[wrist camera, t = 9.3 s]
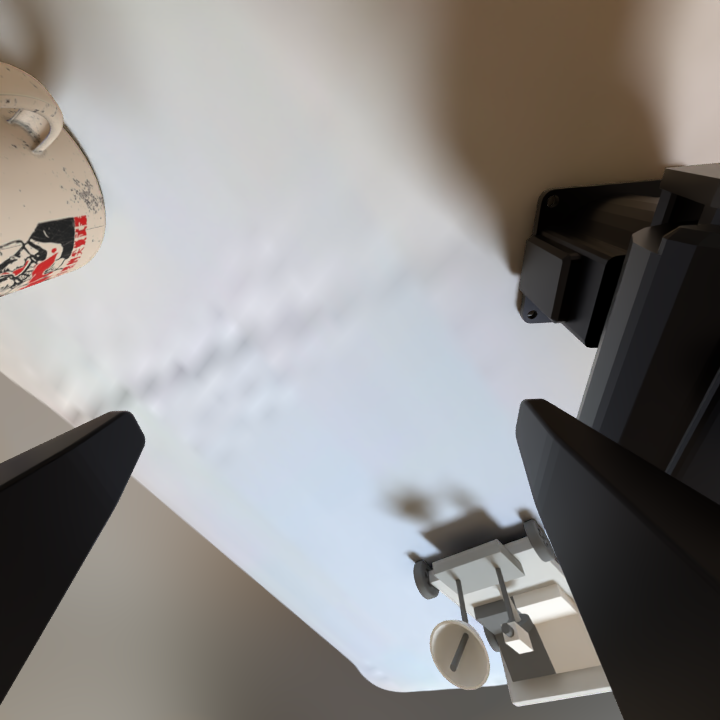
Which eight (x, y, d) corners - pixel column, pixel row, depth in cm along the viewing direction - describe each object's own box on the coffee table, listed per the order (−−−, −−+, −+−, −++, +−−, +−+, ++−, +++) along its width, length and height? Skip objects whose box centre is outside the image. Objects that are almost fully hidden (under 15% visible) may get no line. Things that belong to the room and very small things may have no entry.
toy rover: (398, 685, 23) (572, 648, 18) (394, 542, 31) (513, 493, 27) (525, 757, 29) (675, 742, 25) (493, 622, 37) (601, 593, 33)
